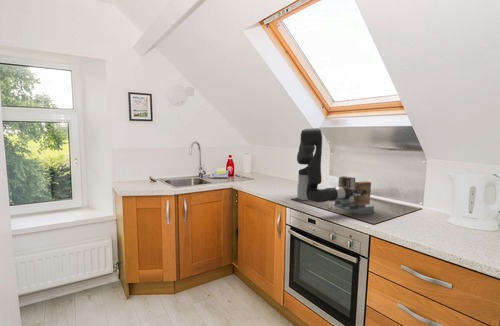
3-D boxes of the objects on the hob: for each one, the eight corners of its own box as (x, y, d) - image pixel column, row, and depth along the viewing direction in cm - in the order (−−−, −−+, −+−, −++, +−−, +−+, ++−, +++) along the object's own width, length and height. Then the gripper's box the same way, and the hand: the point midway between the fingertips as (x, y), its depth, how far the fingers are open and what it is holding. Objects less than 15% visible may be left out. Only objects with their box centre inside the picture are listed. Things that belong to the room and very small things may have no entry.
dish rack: (334, 205, 179) (334, 200, 179) (348, 203, 184) (349, 198, 183) (358, 214, 160) (358, 208, 160) (374, 212, 165) (374, 206, 164)
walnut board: (353, 204, 165) (354, 182, 164) (365, 202, 169) (366, 181, 167) (357, 205, 162) (359, 183, 161) (369, 204, 165) (371, 182, 164)
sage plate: (338, 205, 176) (339, 187, 175) (352, 203, 180) (353, 186, 179) (339, 205, 175) (340, 188, 174) (353, 204, 179) (354, 187, 178)
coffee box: (354, 201, 191) (355, 177, 189) (349, 202, 186) (350, 178, 185) (342, 198, 197) (343, 176, 196) (337, 200, 193) (338, 176, 191)
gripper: (349, 189, 151) (373, 187, 158) (332, 184, 164) (355, 183, 171) (348, 202, 152) (372, 200, 159) (331, 197, 165) (354, 195, 172)
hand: (363, 191), depth 165 cm, fingers closed on walnut board, 3 cm apart
